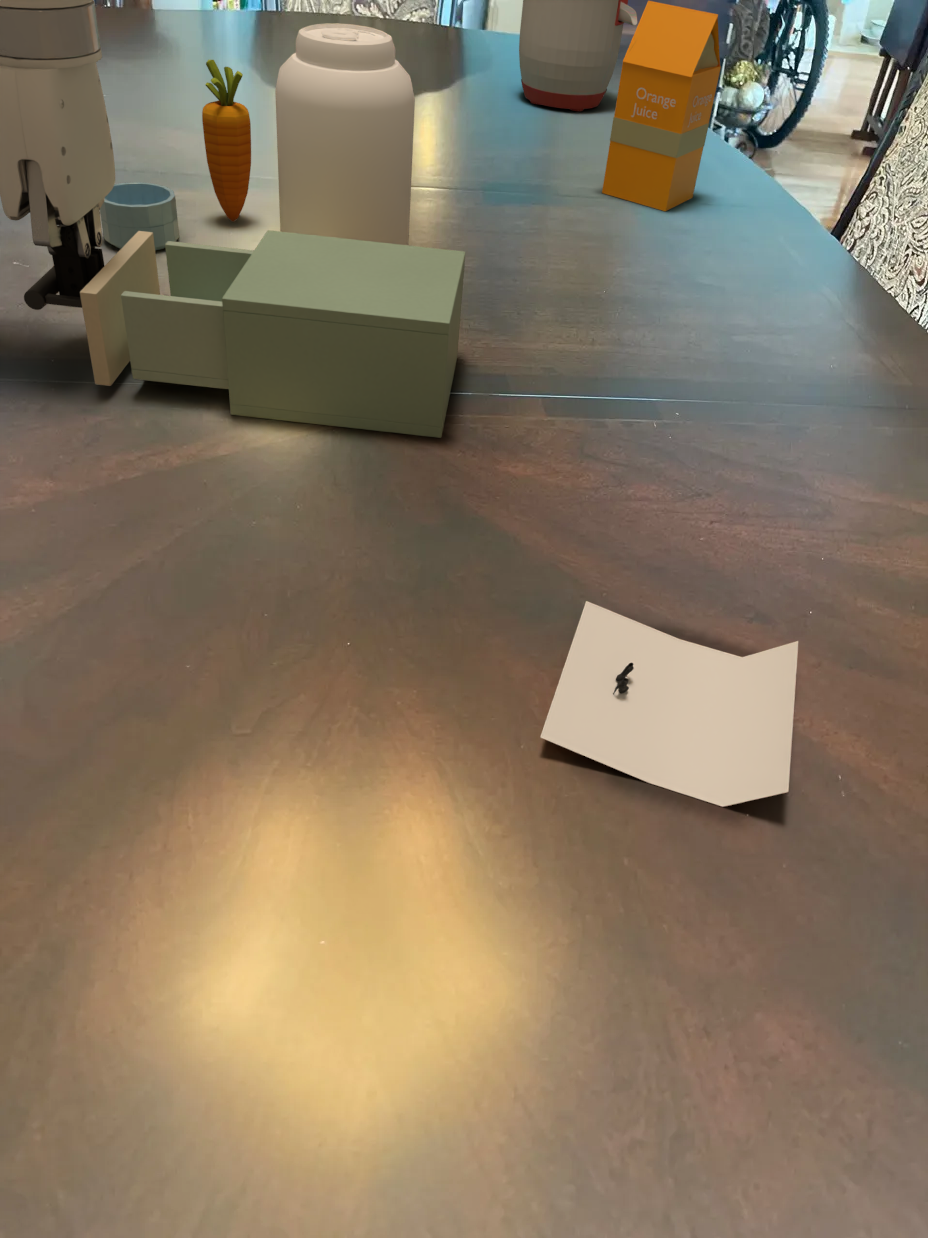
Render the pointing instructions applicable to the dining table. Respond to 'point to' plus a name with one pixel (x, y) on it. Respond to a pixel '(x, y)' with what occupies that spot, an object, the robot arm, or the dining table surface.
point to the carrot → (227, 141)
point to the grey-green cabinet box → (344, 333)
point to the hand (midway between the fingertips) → (85, 301)
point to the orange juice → (663, 107)
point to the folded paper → (676, 710)
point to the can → (345, 136)
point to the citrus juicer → (570, 50)
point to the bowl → (139, 213)
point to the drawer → (154, 312)
